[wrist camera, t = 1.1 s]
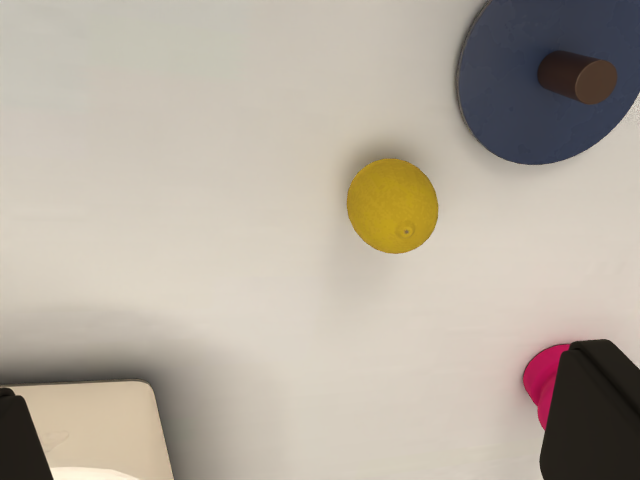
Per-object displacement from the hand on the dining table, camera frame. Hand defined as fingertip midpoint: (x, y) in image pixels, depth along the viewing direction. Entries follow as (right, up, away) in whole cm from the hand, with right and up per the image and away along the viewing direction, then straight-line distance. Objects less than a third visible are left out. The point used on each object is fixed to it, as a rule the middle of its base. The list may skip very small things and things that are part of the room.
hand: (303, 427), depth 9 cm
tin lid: (+15, +14, +24) cm, 31 cm away
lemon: (+4, +7, +27) cm, 28 cm away
